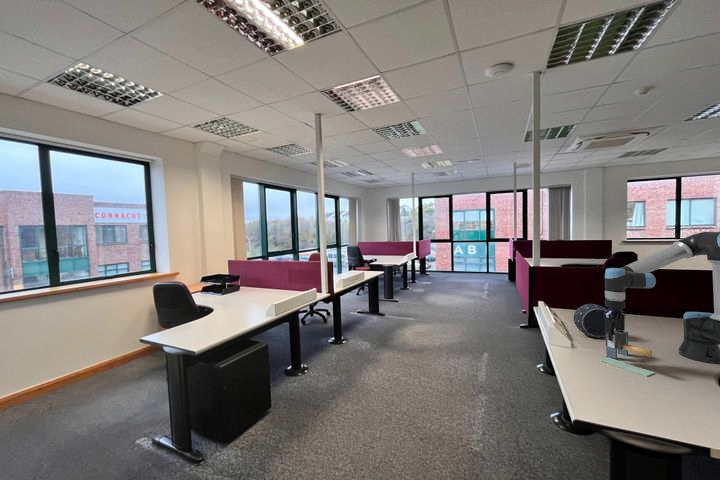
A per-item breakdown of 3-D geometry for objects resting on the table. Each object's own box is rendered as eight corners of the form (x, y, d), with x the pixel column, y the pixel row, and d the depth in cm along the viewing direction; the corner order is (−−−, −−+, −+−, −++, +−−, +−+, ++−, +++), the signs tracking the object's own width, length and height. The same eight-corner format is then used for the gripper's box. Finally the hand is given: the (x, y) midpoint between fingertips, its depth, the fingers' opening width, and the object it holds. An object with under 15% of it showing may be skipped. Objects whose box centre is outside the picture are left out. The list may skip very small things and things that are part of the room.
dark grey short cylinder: (617, 340, 174) (617, 307, 173) (580, 338, 178) (580, 306, 177) (606, 334, 184) (606, 303, 184) (571, 332, 188) (571, 302, 188)
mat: (608, 358, 149) (608, 357, 149) (654, 373, 133) (654, 372, 133) (600, 361, 147) (600, 359, 147) (646, 376, 130) (646, 375, 130)
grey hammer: (611, 343, 147) (611, 330, 147) (653, 355, 132) (653, 340, 132) (605, 345, 145) (605, 331, 145) (647, 357, 130) (647, 342, 130)
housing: (618, 352, 156) (618, 329, 156) (628, 355, 152) (628, 332, 152) (606, 356, 151) (606, 333, 151) (615, 359, 148) (615, 335, 147)
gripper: (616, 296, 150) (615, 340, 151) (595, 299, 143) (595, 346, 144) (634, 299, 143) (634, 345, 144) (613, 303, 136) (613, 352, 137)
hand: (614, 345), depth 144 cm, fingers closed on grey hammer, 5 cm apart
